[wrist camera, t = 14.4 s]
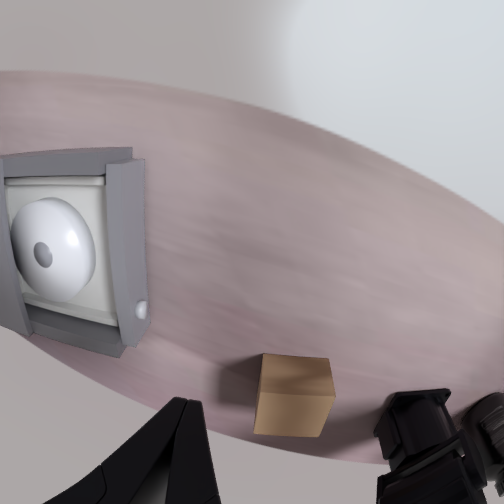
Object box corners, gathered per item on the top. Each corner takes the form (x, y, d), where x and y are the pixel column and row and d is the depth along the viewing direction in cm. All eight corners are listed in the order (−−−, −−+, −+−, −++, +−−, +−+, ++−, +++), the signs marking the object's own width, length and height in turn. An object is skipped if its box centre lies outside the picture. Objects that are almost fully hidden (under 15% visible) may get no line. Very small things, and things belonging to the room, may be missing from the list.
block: (328, 358, 22) (335, 396, 18) (315, 400, 24) (318, 437, 20) (263, 353, 22) (260, 392, 18) (256, 396, 24) (253, 433, 20)
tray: (152, 158, 17) (130, 164, 14) (156, 323, 21) (142, 348, 19) (14, 163, 18) (-12, 169, 15) (33, 296, 22) (13, 313, 19)
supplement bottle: (450, 433, 26) (478, 510, 15) (475, 396, 23) (516, 478, 12) (489, 422, 26) (519, 489, 14) (513, 385, 23) (555, 455, 12)
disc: (92, 198, 17) (77, 205, 15) (101, 298, 19) (90, 310, 18) (19, 196, 17) (4, 201, 15) (32, 283, 20) (20, 292, 18)
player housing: (132, 147, 17) (92, 153, 13) (140, 325, 22) (115, 364, 18) (-4, 156, 18) (-44, 166, 13) (16, 294, 23) (-14, 319, 18)
